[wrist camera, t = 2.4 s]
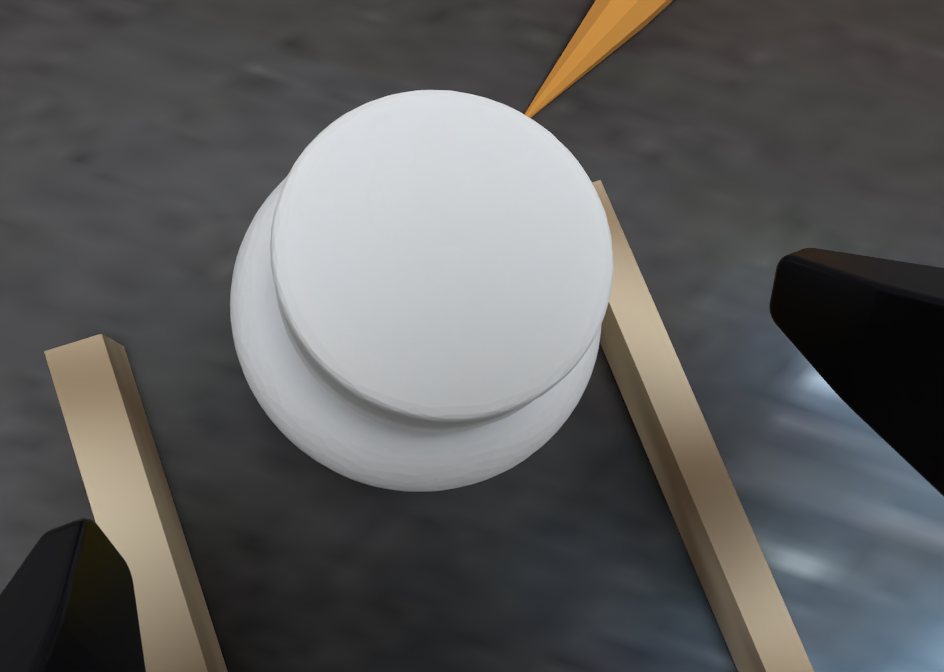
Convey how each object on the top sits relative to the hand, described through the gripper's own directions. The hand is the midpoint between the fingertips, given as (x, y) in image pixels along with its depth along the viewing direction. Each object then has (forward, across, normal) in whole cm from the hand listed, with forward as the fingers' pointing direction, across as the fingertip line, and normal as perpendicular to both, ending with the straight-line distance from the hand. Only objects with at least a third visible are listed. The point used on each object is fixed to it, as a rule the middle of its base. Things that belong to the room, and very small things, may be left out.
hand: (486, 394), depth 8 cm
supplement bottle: (+8, 0, +6) cm, 10 cm away
